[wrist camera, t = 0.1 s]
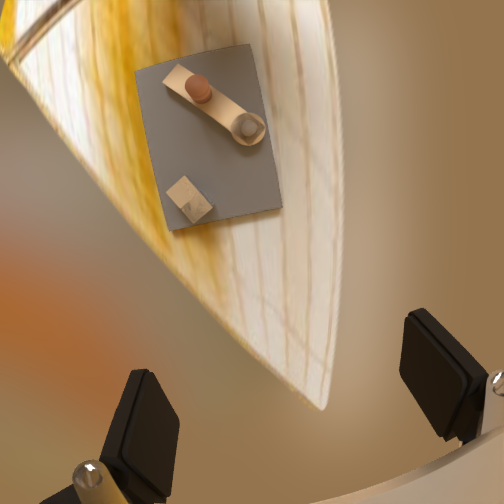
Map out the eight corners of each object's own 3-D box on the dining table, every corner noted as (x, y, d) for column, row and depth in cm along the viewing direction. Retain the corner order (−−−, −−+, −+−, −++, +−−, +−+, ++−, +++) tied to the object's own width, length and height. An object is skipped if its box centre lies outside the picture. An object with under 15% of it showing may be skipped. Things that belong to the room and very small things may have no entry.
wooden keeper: (188, 173, 36) (184, 175, 33) (214, 202, 37) (212, 207, 34) (171, 188, 36) (165, 192, 33) (196, 217, 38) (193, 224, 35)
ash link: (270, 127, 34) (279, 122, 28) (250, 152, 35) (253, 152, 29) (182, 63, 31) (172, 46, 24) (162, 87, 32) (147, 75, 25)
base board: (138, 74, 32) (134, 71, 31) (249, 47, 32) (249, 43, 31) (171, 228, 39) (168, 231, 38) (280, 205, 39) (282, 207, 38)
